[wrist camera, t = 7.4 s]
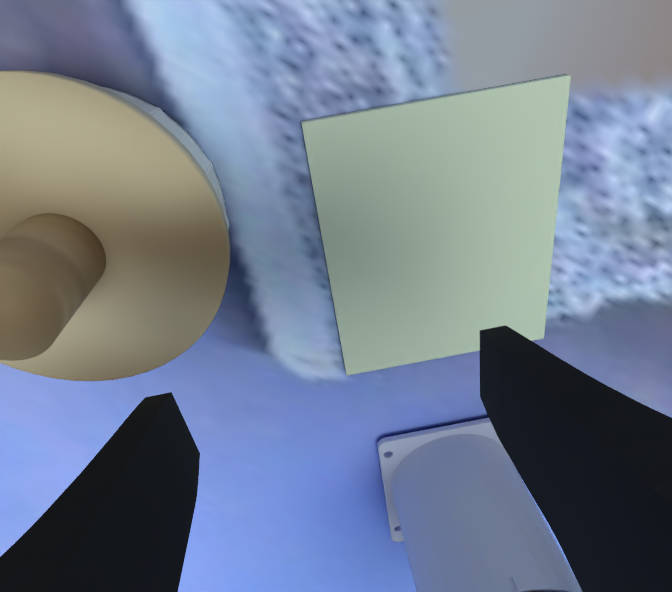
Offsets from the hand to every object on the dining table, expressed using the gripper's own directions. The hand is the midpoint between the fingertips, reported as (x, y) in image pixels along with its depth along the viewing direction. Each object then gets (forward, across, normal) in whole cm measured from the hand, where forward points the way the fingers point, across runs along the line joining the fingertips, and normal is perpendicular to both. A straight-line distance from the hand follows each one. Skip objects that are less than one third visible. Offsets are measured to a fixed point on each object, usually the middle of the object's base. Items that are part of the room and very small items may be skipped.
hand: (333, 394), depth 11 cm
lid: (+6, +8, -3) cm, 10 cm away
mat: (+10, -5, +2) cm, 11 cm away
